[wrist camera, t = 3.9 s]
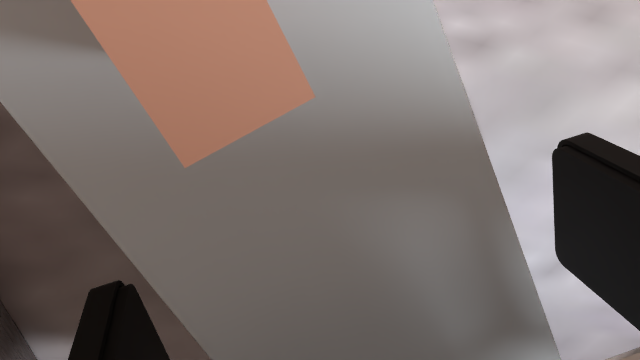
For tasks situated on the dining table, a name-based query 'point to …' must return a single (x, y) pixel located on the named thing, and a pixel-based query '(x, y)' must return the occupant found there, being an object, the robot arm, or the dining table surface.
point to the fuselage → (282, 172)
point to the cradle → (12, 340)
